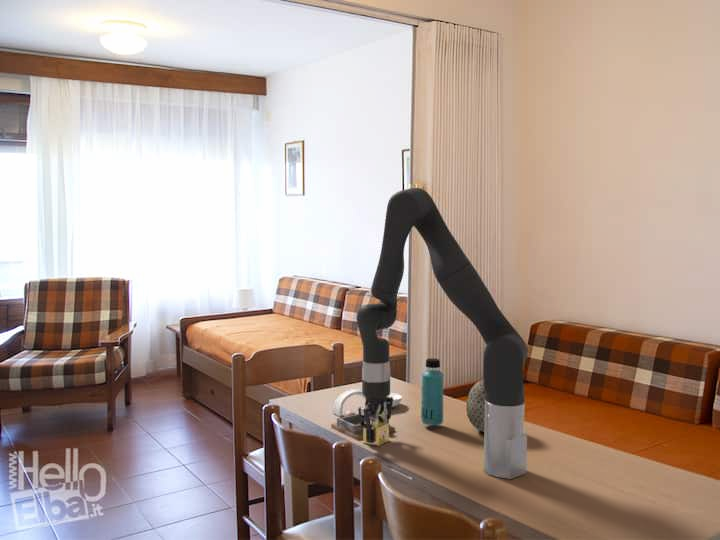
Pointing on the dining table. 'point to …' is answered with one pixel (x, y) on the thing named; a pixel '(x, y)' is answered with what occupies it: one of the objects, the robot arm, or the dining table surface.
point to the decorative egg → (477, 406)
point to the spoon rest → (341, 399)
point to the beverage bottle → (432, 394)
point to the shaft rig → (352, 425)
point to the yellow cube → (378, 433)
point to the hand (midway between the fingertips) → (376, 439)
